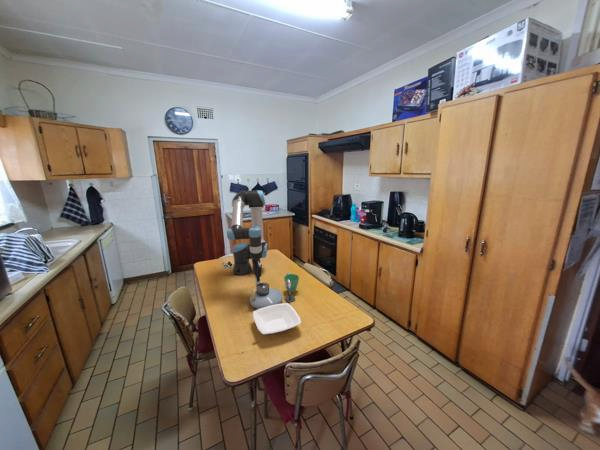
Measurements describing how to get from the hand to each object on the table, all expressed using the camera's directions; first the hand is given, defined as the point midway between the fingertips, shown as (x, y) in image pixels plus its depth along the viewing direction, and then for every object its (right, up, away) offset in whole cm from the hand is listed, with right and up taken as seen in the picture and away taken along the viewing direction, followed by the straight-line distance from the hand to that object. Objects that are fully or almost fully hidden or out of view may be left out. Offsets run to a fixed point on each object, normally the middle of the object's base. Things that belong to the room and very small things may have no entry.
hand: (258, 285), depth 161 cm
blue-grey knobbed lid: (+7, -7, -11) cm, 14 cm away
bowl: (+16, -14, -32) cm, 38 cm away
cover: (+4, -3, -7) cm, 9 cm away
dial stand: (+22, -8, -8) cm, 24 cm away
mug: (+22, -4, +6) cm, 23 cm away
